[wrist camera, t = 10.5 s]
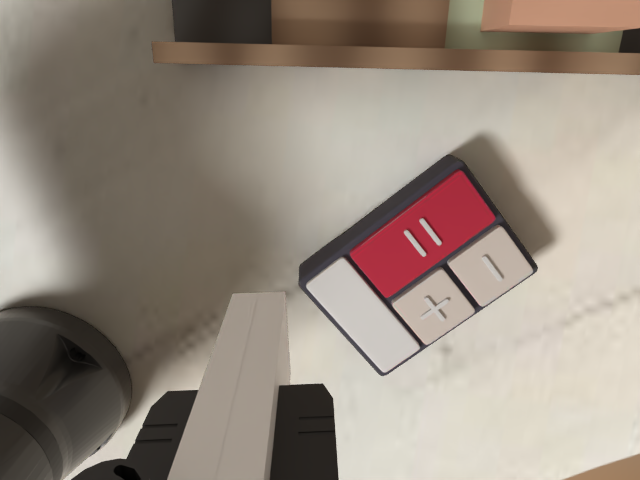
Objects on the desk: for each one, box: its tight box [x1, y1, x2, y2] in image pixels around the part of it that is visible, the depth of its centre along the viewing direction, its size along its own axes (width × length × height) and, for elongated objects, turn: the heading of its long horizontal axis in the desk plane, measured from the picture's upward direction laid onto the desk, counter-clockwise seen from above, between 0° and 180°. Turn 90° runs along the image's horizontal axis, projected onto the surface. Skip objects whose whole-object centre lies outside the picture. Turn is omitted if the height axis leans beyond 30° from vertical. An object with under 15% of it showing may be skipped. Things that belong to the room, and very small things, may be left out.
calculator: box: [299, 155, 538, 376], centre depth 37 cm, size 11×4×15 cm
